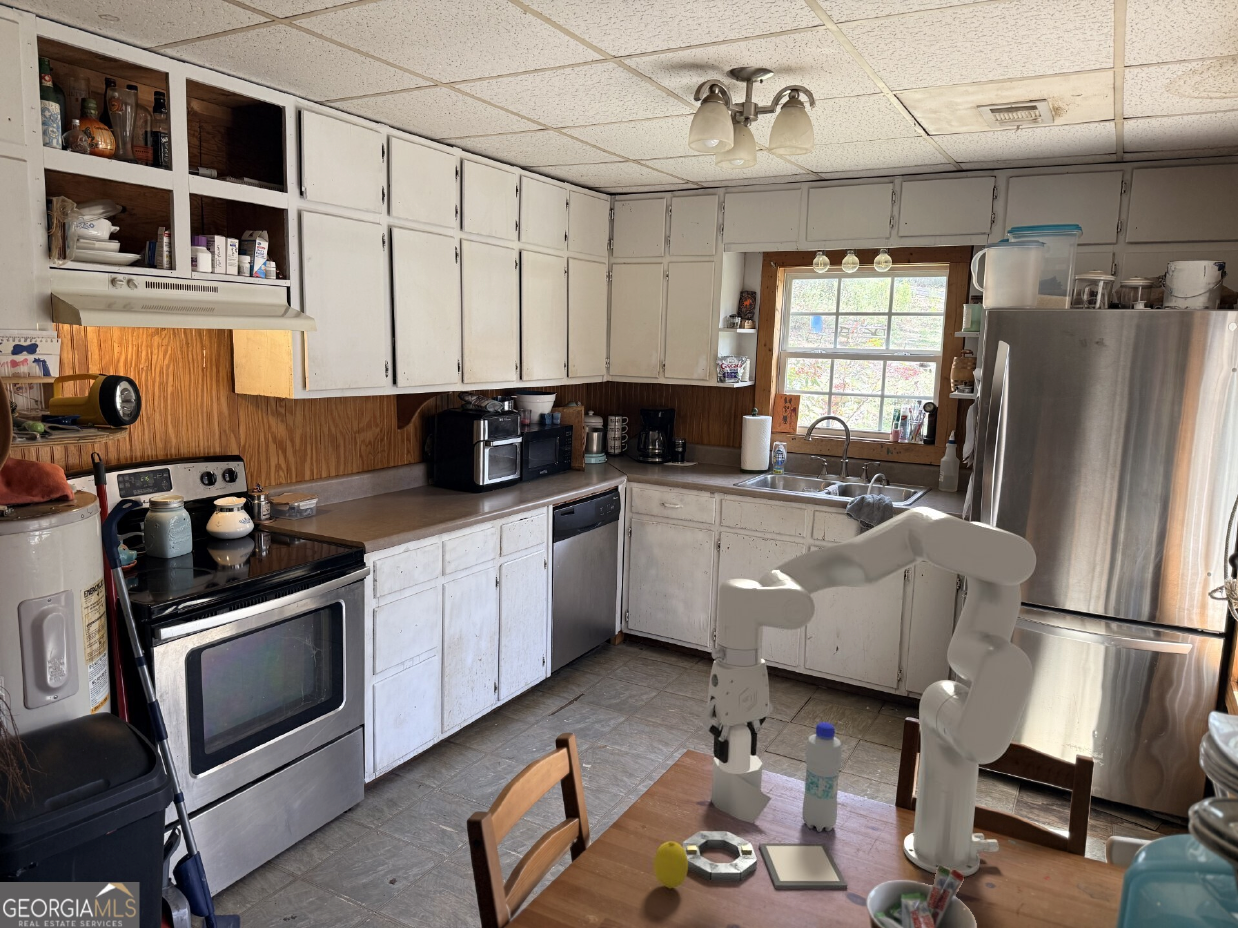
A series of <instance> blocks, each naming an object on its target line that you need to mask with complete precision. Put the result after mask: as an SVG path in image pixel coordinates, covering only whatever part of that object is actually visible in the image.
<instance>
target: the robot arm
mask: <svg viewBox="0 0 1238 928" xmlns="http://www.w3.org/2000/svg"><path fill="white" fill-rule="evenodd" d="M1036 555H1037V554H1036V552H1035V549H1034V548H1033V545H1031V543H1030V542H1029V541H1027V539H1025V538H1024V537H1022V536H1020V535H1018V534H1015V533H1013V532H1010V531H1007V530H1005V529H1002V528H999V527H997V526H994V525H991V524H988V523H986V522H980V521H968V520H965V519H961V518H959V517H956V516H953V515H951V514H948V513H945V512H943V511H939V510H937V509H934V508H932V507H927V506H917V507H913V508H911V509H907V510H906V511H903V512H902V513H900V514H897V515H896V516H894V517H892V518H890V519H888V520H885V521H884V522H882V523H880V524H878V525H876V526H874V527H873V528H871V529H868V530H867V531H865V532H863V533H861V534H859V535H857V536H854V537H852V538H850V539H848V540H846V541H844V542H839V543H836V544H831V545H828V546H825V547H822V548H818V549H813V550H810V551H807V552H805V553H804V552H803V553H802V554H799V555H796V556H795V557H793V558H790V559H788V560H786V561H785V562H782V563H781V564H778V565H777V566H775V567H773V568H772V569H769V570H768V571H767V572H765V573H764V574H763V575H762V576H761V577H760V578H759V580H758V581H756V580H753V579H749V578H730V579H726V580H724V581H723V582H721V584H720V586H719V589H718V605H717V606H718V609H717V614H718V615H717V631H716V632H717V633H716V634H717V635H716V650H713V651H712V652H711V657H712V659H714V661H713V662H712V663H713V664H712V667H711V670H710V677H709V683H708V690H707V702H706V703H707V704H706V705H707V706H706V708H705V710H704V711H703V712H702V714H701V716H700V717H699V719H698V724H700V725H701V726H702V727H703V728H705V729H706V731H708V732H709V733H710V735H711V736H713V752H712V753H713V756H714V757H715V758H717V759H718V760H720V761H721V762H722V763H727V762H728V747H729V742H728V740H726V736H727V733H728V729H729V726H733V725H738V724H742V723H744V724H745V725H746V726H747V727H748V729H749V730H750V733H751V755H752V756H757V746H758V734H759V733H760V732H761V730H762V725H763V724H764V723H765V721H766V719H767V717H768V716H769V715H770V713H771V712H772V711H773V710H774V706H773V704H771V702H770V687H769V677H768V676H769V675H768V674H769V673H768V669H767V663H766V660H765V659H764V658H762V656H763V652H762V651H763V637H764V636H763V633H764V631H763V630H764V627H768V628H772V629H778V630H787V631H792V630H793V631H794V630H800V629H802V628H805V627H806V626H807V625H808V624H810V622H812V620H813V618H814V617H815V612H816V605H815V601H814V598H813V597H812V596H811V595H813V594H814V593H818V592H820V591H824V590H827V589H831V588H838V587H847V588H849V587H850V588H869V587H875V586H876V585H879V584H881V583H883V582H884V581H885V580H888V579H890V578H891V577H893V576H895V575H897V574H899V573H900V572H903V571H905V570H907V569H908V568H911V567H913V566H916V565H917V564H920V563H921V562H923V561H924V562H926V563H928V564H930V565H932V566H935V567H937V568H939V569H942V570H946V571H949V572H952V573H955V574H959V575H961V576H965V578H966V582H967V593H966V598H965V601H964V604H963V608H962V611H961V614H960V616H959V617H958V621H957V624H956V626H955V628H954V632H953V634H952V636H951V640H950V643H949V644H948V648H947V652H946V653H947V655H946V658H947V659H946V660H947V662H948V665H949V666H950V668H951V669H952V671H954V673H956V674H957V675H958V676H959V677H961V678H962V679H963V680H964V681H966V682H967V683H969V684H970V687H967V686H965V685H964V684H962V683H960V682H957V681H954V680H949V679H945V680H943V679H941V680H938V681H935V682H933V683H932V684H930V685H928V686H927V687H926V689H925V690H924V691H923V692H922V693H923V694H922V696H921V698H920V701H919V707H918V708H919V709H918V712H919V713H918V715H919V719H918V720H919V730H920V754H919V755H920V756H919V768H918V777H917V778H918V779H917V791H916V802H915V815H914V828H913V832H912V833H910V834H908V835H907V836H905V838H904V840H903V852H904V853H905V854H904V855H906V857H907V858H908V859H909V861H911V862H912V863H914V864H915V865H916V866H918V867H919V868H921V869H923V870H926V871H927V872H930V873H931V874H935V872H936V870H937V867H938V866H945V867H947V868H950V870H957V871H958V872H961V873H962V874H963V875H965V876H964V877H967V876H969V877H970V876H971V875H973V874H975V873H976V872H977V871H978V870H979V868H980V863H981V862H980V856H979V854H981V853H982V852H984V851H985V852H998V851H999V850H1000V846H999V842H998V840H997V839H985V835H984V834H983V833H982V832H981V833H980V832H977V833H976V832H975V833H973V832H974V831H973V830H974V820H975V808H976V799H977V798H976V797H977V788H978V780H979V765H986V764H990V763H993V762H995V761H997V760H998V759H999V758H1001V757H1002V756H1003V754H1005V753H1006V751H1007V749H1009V747H1010V744H1011V742H1012V740H1013V738H1014V736H1015V732H1016V730H1017V727H1018V725H1019V723H1020V720H1021V718H1022V715H1023V712H1024V710H1025V707H1026V704H1027V702H1028V699H1029V696H1030V694H1031V692H1032V688H1033V684H1034V670H1033V665H1032V662H1031V660H1030V658H1029V657H1028V655H1027V653H1026V652H1024V650H1022V649H1021V648H1020V647H1019V646H1017V645H1015V644H1014V643H1012V642H1011V641H1012V637H1013V633H1014V629H1015V627H1016V623H1017V620H1018V617H1019V614H1020V610H1021V605H1022V590H1021V584H1022V583H1024V582H1026V581H1027V580H1028V579H1029V578H1030V577H1031V576H1032V575H1033V574H1034V570H1035V569H1036V565H1037V556H1036ZM713 718H714V720H713V721H712V719H713ZM714 757H713V758H714Z"/></svg>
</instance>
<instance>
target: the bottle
mask: <svg viewBox="0 0 1238 928" xmlns="http://www.w3.org/2000/svg"><path fill="white" fill-rule="evenodd" d="M835 732H836V730H835V727H834V725H833V724H831V723H829V722H825V721H824V722H823V721H822V722H819V723H818V724H817V725H816V727H815V733H814V734H812V735H810V736H808V739H807V744H806V749H805V753H804V755H805V759H804V762H805V763H806V769H805V770H806V771H805V783H804V794H803V795H804V796H803V803H802V811H801V813H802V816H801V817H802V820H803V822H804V824H806V827H808V829H813V828H814V827H816V830H817V832H820V833H821V832H822V831H823V829H825V831H826V832H829V831H831V830H832V829H833V827H834V826H836V822H837V817H838V790H839V774H840V770H841V768H842V762H843V756H842V743H841V740H840V739H838V738H837V737H835Z"/></svg>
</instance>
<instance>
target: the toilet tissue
mask: <svg viewBox="0 0 1238 928" xmlns="http://www.w3.org/2000/svg"><path fill="white" fill-rule="evenodd" d="M712 760H713V762H712V778H711V798H710V799H711V801H712V804H713V806H714V807H715V808H716V809H717V810H720V811H722V812H724V813H726V814H727V815H730V816H731V817H734V818H736V819H737V820H740V821H744V822H746V823H750V824H751V823H752V824H755V822H757V821H756V820H757V819H759V817H760V815H761V814H762V812H763V811H764V810H765V809H766V807H767V806H768V804H769V802H770V801H771V800H772V798H771V796H769V795H767V794H766V793H764V792H763V791H762V778H763V764H764V763H763V762H762V761H761V759H760V758H759V756H757V755H755V756H752V755H751V756H750V769H749V771H747V772H746V773H742V774H732V773H728V772H725V771H723V770H722V769H720V767H719V760H718V759H717V758H715V757H713V759H712Z"/></svg>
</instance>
